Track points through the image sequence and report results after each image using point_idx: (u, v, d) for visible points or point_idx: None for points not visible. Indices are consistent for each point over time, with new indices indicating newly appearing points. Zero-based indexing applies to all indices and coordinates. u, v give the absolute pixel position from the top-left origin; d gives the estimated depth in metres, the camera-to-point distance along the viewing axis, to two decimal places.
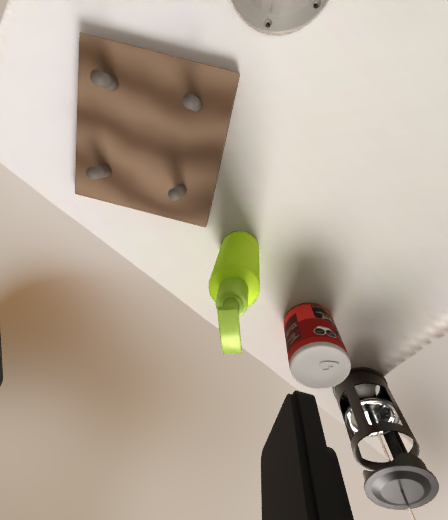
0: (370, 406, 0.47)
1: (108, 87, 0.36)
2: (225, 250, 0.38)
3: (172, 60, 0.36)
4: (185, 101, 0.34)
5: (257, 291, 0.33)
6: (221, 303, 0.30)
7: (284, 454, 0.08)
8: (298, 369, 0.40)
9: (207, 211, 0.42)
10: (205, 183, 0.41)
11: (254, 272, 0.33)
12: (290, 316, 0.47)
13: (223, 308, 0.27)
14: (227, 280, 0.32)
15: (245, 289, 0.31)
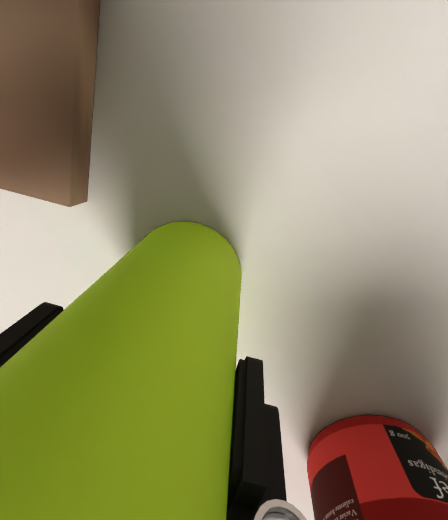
0: None
1: None
2: (76, 301, 0.08)
3: None
4: None
5: None
6: None
7: None
8: None
9: (67, 152, 0.13)
10: (43, 43, 0.11)
11: None
12: (329, 460, 0.17)
13: None
14: None
15: None
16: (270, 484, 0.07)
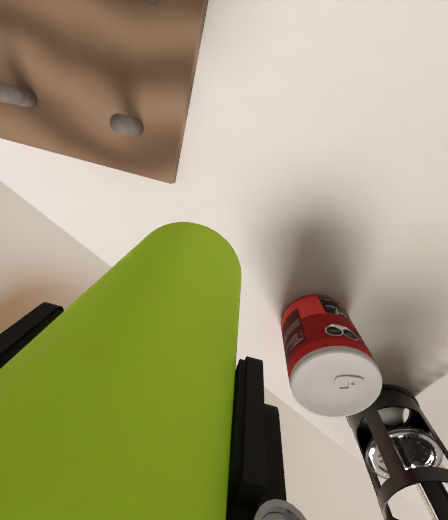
0: (401, 440, 0.34)
1: None
2: (77, 301, 0.08)
3: None
4: None
5: None
6: None
7: None
8: (302, 388, 0.27)
9: (173, 159, 0.30)
10: (169, 117, 0.29)
11: None
12: (290, 312, 0.34)
13: None
14: None
15: None
16: (270, 484, 0.07)
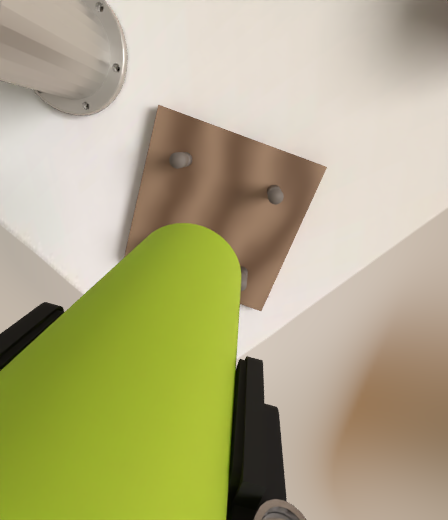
0: None
1: None
2: (77, 303, 0.08)
3: (145, 178, 0.36)
4: (177, 165, 0.31)
5: None
6: None
7: None
8: None
9: (306, 161, 0.33)
10: (270, 159, 0.33)
11: None
12: None
13: None
14: None
15: None
16: (270, 484, 0.07)
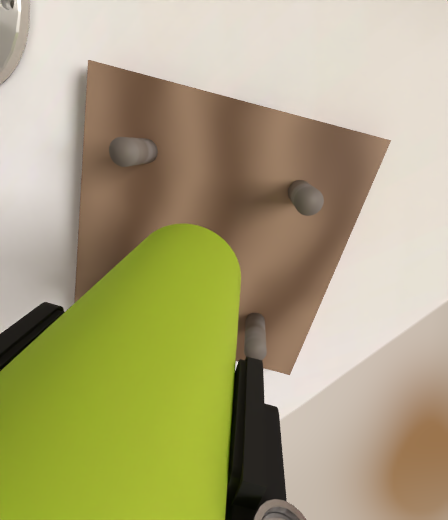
0: None
1: None
2: (76, 304, 0.08)
3: (86, 189, 0.22)
4: (124, 160, 0.17)
5: None
6: None
7: None
8: None
9: (353, 134, 0.19)
10: (290, 137, 0.19)
11: None
12: None
13: None
14: None
15: None
16: (270, 484, 0.07)
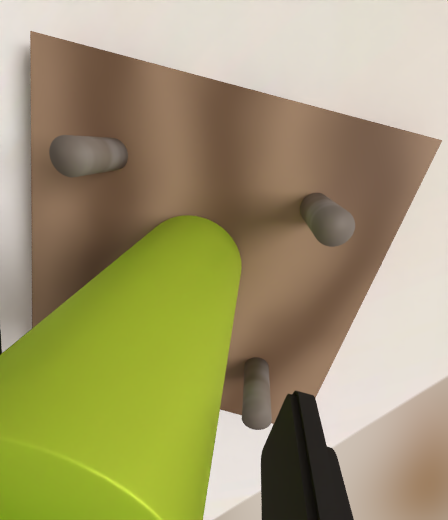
0: None
1: None
2: (92, 280, 0.10)
3: (38, 203, 0.17)
4: (71, 168, 0.12)
5: None
6: None
7: (284, 454, 0.08)
8: None
9: (390, 131, 0.14)
10: (304, 135, 0.14)
11: (157, 463, 0.05)
12: None
13: None
14: None
15: None
16: None
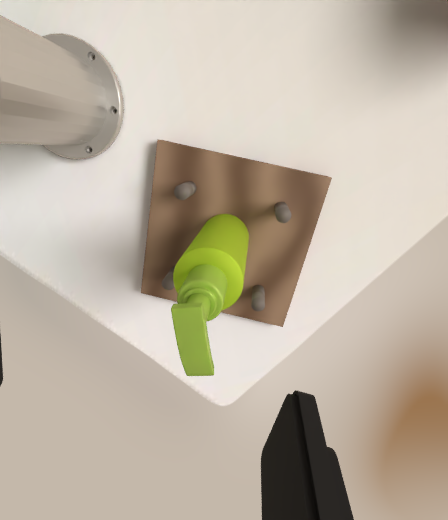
0: None
1: None
2: (200, 233, 0.29)
3: (153, 211, 0.36)
4: (182, 196, 0.31)
5: (240, 284, 0.24)
6: (185, 301, 0.21)
7: (284, 454, 0.08)
8: None
9: (309, 175, 0.33)
10: (273, 177, 0.33)
11: (235, 258, 0.24)
12: None
13: (180, 306, 0.18)
14: (196, 269, 0.22)
15: (221, 280, 0.22)
16: None
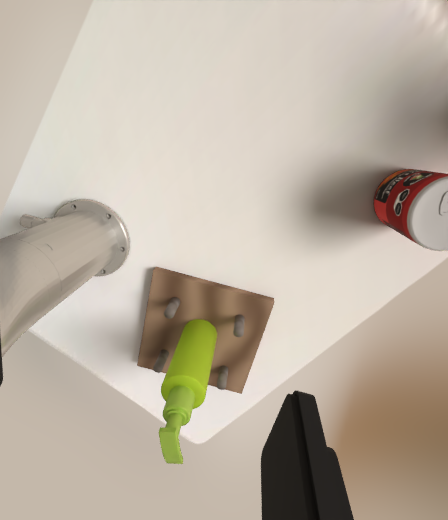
0: None
1: (165, 359, 0.51)
2: (180, 349, 0.43)
3: (148, 313, 0.50)
4: (169, 316, 0.45)
5: (203, 396, 0.38)
6: (167, 416, 0.35)
7: (284, 454, 0.08)
8: None
9: (259, 299, 0.47)
10: (234, 299, 0.47)
11: (200, 380, 0.38)
12: (386, 224, 0.40)
13: (164, 430, 0.32)
14: (175, 391, 0.37)
15: (190, 400, 0.36)
16: None
